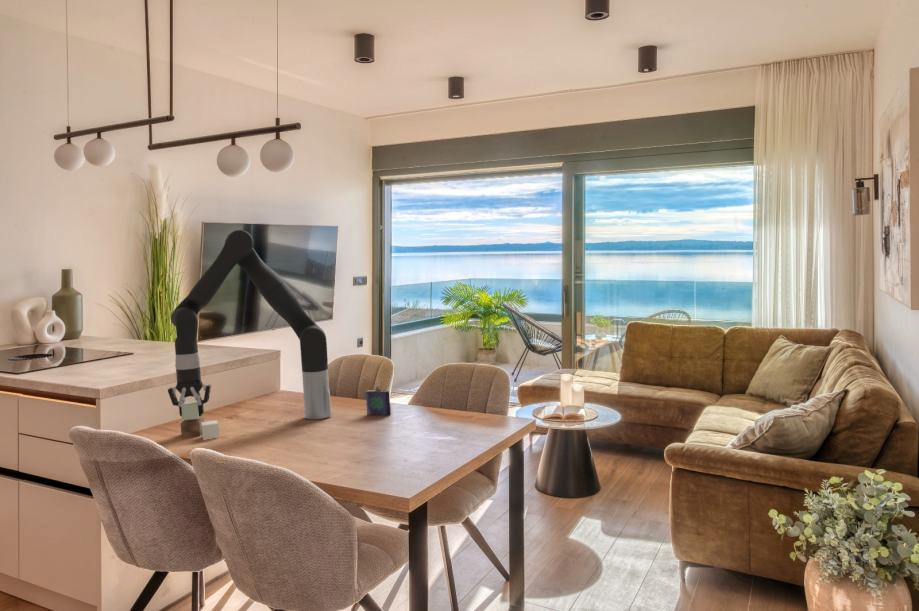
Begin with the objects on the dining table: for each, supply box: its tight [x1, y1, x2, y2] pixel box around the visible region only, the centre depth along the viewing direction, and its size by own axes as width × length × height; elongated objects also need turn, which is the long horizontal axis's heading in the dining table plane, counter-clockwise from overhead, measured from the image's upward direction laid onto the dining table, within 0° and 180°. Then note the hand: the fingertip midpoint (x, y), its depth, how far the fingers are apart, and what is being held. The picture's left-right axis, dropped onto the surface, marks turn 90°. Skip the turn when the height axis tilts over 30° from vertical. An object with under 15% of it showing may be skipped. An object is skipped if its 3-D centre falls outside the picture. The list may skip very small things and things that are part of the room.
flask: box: [365, 385, 392, 417], centre depth 239 cm, size 9×3×11 cm, turn 71°
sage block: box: [181, 400, 201, 421], centre depth 223 cm, size 5×5×5 cm
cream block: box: [201, 419, 220, 441], centre depth 219 cm, size 5×5×5 cm
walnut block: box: [180, 417, 205, 438], centre depth 224 cm, size 6×6×5 cm
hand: (191, 416), depth 223 cm, fingers closed on sage block, 4 cm apart
